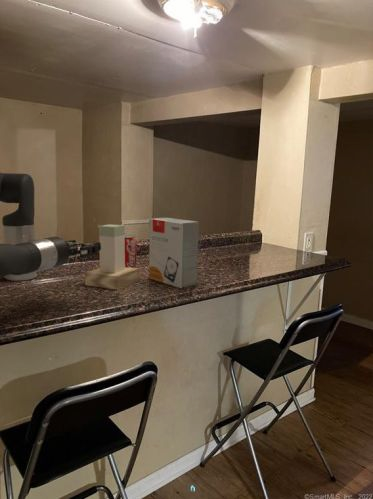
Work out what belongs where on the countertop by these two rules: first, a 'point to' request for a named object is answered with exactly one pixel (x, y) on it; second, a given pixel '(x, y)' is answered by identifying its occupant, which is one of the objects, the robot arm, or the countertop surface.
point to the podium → (112, 278)
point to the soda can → (130, 251)
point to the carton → (112, 248)
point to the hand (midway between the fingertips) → (87, 244)
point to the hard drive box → (173, 251)
